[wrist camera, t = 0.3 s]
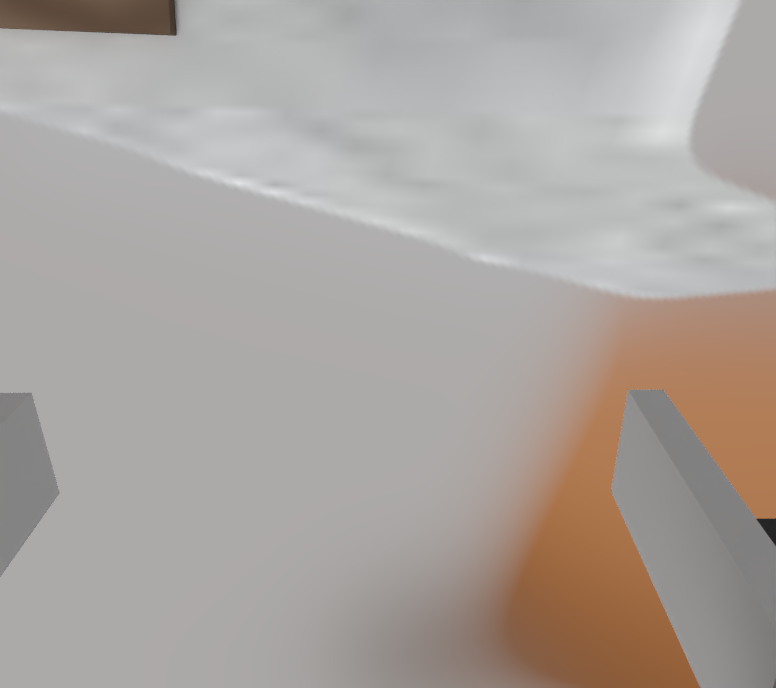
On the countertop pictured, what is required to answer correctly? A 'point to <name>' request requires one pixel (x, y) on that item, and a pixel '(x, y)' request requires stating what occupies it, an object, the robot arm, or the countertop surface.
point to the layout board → (90, 16)
